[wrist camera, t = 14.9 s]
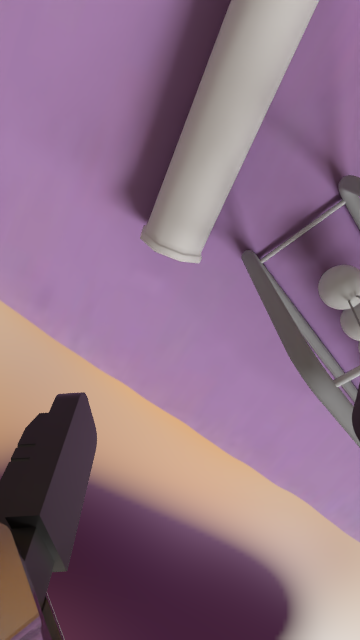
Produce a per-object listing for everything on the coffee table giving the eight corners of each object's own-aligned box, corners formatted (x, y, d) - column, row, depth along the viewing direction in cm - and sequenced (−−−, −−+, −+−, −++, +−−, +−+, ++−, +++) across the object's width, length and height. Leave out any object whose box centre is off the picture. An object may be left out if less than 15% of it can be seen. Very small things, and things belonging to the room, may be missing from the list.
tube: (291, -226, 18) (132, 225, 29) (368, -308, 14) (148, 253, 25) (355, -142, 20) (186, 242, 31) (435, -191, 16) (209, 269, 27)
